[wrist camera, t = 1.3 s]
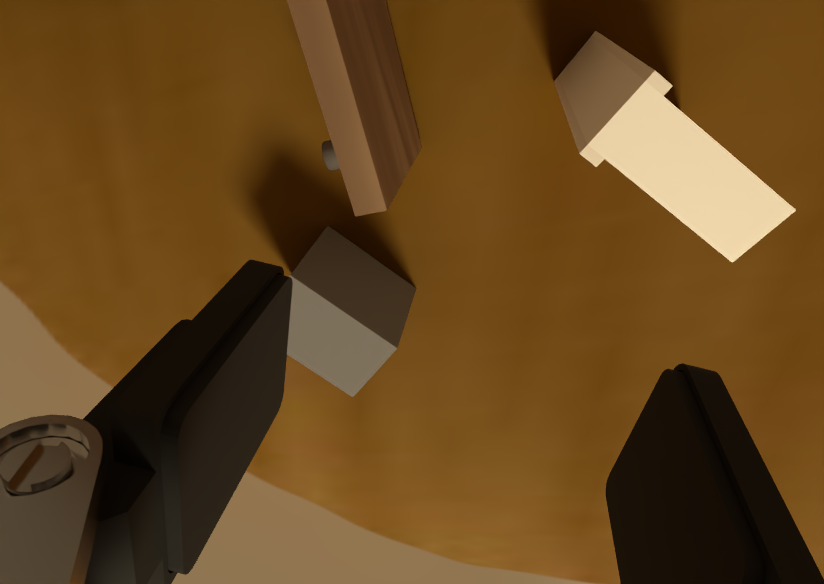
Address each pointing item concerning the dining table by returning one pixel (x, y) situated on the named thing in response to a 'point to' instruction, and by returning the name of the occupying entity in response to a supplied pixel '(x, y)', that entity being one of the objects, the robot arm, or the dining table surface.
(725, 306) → the dining table surface
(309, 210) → the dining table surface
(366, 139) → the door
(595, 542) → the dining table surface
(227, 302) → the robot arm
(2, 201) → the dining table surface
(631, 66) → the wall
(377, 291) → the block
